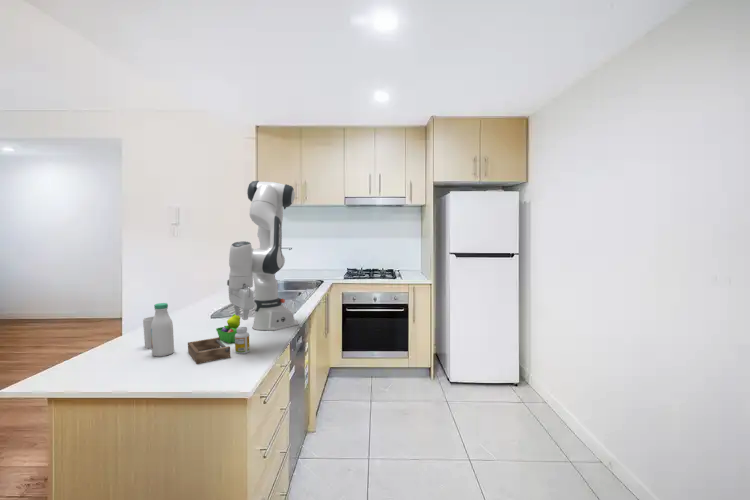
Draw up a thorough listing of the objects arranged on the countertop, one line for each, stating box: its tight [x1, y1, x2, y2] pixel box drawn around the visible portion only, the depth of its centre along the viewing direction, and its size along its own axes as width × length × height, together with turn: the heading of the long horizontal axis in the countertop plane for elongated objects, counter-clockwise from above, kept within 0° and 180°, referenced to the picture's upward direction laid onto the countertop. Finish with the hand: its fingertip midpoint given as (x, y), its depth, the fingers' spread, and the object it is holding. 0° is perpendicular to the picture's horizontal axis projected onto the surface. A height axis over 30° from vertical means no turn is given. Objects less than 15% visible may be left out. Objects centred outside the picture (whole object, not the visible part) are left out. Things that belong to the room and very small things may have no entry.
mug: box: [142, 315, 155, 349], centre depth 166 cm, size 10×7×12 cm, turn 1°
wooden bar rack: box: [187, 336, 231, 365], centre depth 153 cm, size 12×18×4 cm
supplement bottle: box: [234, 326, 251, 355], centre depth 156 cm, size 5×5×10 cm
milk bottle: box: [151, 302, 175, 357], centre depth 154 cm, size 8×8×20 cm
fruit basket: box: [215, 313, 241, 344], centre depth 172 cm, size 11×9×11 cm
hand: (241, 317), depth 155 cm, fingers open, 8 cm apart
